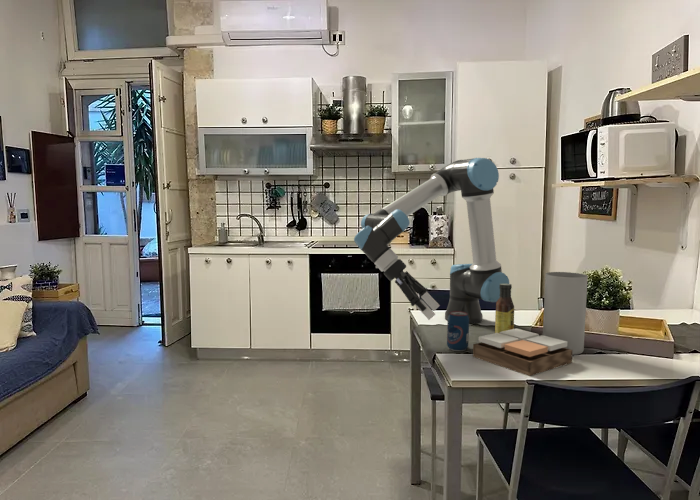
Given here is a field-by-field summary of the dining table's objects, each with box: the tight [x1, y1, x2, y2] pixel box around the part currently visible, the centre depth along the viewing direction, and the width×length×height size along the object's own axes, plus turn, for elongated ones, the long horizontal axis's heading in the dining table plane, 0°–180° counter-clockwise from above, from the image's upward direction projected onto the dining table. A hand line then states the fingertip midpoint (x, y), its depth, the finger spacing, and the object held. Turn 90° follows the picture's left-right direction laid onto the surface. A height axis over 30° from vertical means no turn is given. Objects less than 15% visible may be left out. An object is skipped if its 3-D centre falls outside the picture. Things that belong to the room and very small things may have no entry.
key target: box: [505, 340, 548, 357], centre depth 145 cm, size 8×8×2 cm
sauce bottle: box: [494, 283, 515, 334], centre depth 173 cm, size 7×6×20 cm
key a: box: [500, 328, 540, 341], centre depth 159 cm, size 8×8×2 cm
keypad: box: [472, 342, 573, 377], centre depth 153 cm, size 21×21×4 cm
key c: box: [526, 334, 567, 351], centre depth 151 cm, size 8×8×2 cm
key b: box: [478, 332, 519, 348], centre depth 154 cm, size 8×8×2 cm
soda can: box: [446, 311, 470, 352], centre depth 163 cm, size 7×7×12 cm
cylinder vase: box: [542, 271, 589, 356], centre depth 162 cm, size 12×12×25 cm
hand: (434, 312), depth 164 cm, fingers open, 13 cm apart
